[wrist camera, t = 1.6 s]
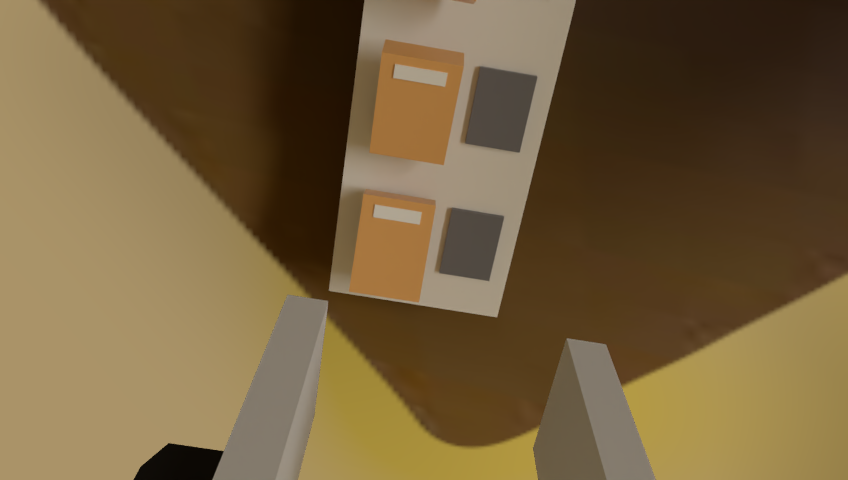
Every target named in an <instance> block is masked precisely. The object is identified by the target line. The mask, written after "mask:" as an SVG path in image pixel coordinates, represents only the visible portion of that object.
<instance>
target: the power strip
mask: <svg viewBox="0 0 848 480" xmlns="http://www.w3.org/2000/svg"><path fill="white" fill-rule="evenodd" d="M575 2H576V0H476V2H475V3H474V4H469V3H464V2H458V1H453V0H364V9H363V17H362V25H361V33H360V41H359V49H358V57H357V66H356V74H355V82H354V90H353V98H352V106H351V114H350V122H349V131H348V139H347V147H346V155H345V163H344V171H343V179H342V188H341V196H340V204H339V212H338V220H337V228H336V236H335V245H334V253H333V261H332V269H331V277H330V285H329V291H333V292H340V293H346V294H352V295H359V296H365V297H371V298H378V299H384V300H391V301H397V302H403V303H410V304H416V305H422V306H429V307H435V308H441V309H448V310H454V311H460V312H467V313H473V314H479V315H486V316H492V317H497V315H498V311H499V307H500V303H501V299H502V295H503V291H504V287H505V283H506V279H507V275H508V271H509V267H510V263H511V259H512V255H513V251H514V247H515V243H516V239H517V235H518V231H519V227H520V223H521V219H522V215H523V211H524V207H525V203H526V199H527V195H528V191H529V187H530V183H531V179H532V175H533V171H534V167H535V163H536V159H537V155H538V151H539V147H540V143H541V139H542V135H543V131H544V127H545V123H546V119H547V115H548V111H549V107H550V103H551V99H552V95H553V91H554V87H555V83H556V79H557V75H558V71H559V67H560V63H561V58H562V54H563V50H564V46H565V42H566V38H567V34H568V30H569V26H570V22H571V18H572V14H573V10H574V6H575ZM385 39H387V40H393V41H399V42H404V43H410V44H416V45H421V46H427V47H433V48H439V49H444V50H450V51H456V52H461V53H464V68H463V73H462V78H461V83H460V88H459V93H458V97H457V102H456V107H455V112H454V117H453V122H452V127H451V132H450V137H449V142H448V147H447V151H446V156H445V161H444V165H439V164H433V163H427V162H421V161H415V160H409V159H404V158H398V157H392V156H386V155H380V154H374V153H369V151H370V143H371V135H372V127H373V119H374V111H375V103H376V95H377V87H378V79H379V71H380V63H381V55H382V50H383V46H384V43H385ZM365 189H370V190H376V191H382V192H388V193H394V194H400V195H406V196H412V197H418V198H424V199H431V200H435V202H436V208H435V214H434V220H433V225H432V231H431V237H430V243H429V248H428V254H427V260H426V265H425V271H424V277H423V282H422V288H421V294H420V300H419V302H412V301H406V300H400V299H393V298H387V297H380V296H374V295H368V294H361V293H355V292H349V287H350V281H351V274H352V267H353V261H354V254H355V247H356V241H357V234H358V227H359V221H360V214H361V207H362V201H363V194H364V192H365Z"/></svg>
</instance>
